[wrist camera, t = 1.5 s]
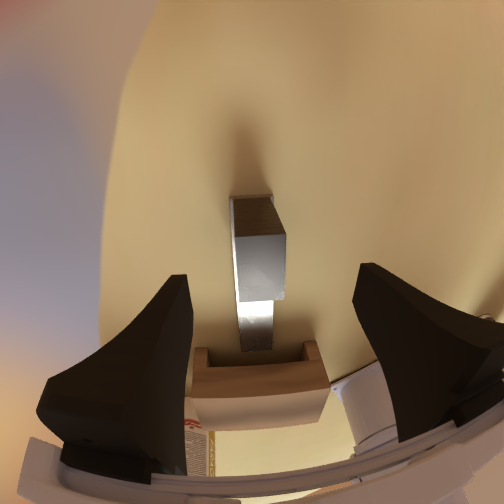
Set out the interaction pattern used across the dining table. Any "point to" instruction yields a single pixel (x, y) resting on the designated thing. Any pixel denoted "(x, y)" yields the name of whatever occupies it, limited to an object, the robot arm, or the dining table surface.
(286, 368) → the walnut u-shaped block
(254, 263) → the brown-topped white block
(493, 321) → the robot arm
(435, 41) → the dining table surface
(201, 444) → the juice carton
